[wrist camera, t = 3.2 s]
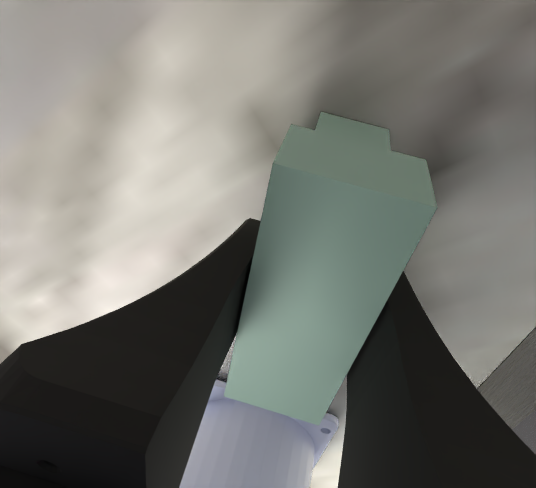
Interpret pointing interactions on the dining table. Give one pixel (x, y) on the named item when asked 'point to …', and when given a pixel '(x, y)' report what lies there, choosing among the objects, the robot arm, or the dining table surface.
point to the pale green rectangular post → (325, 262)
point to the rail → (516, 391)
